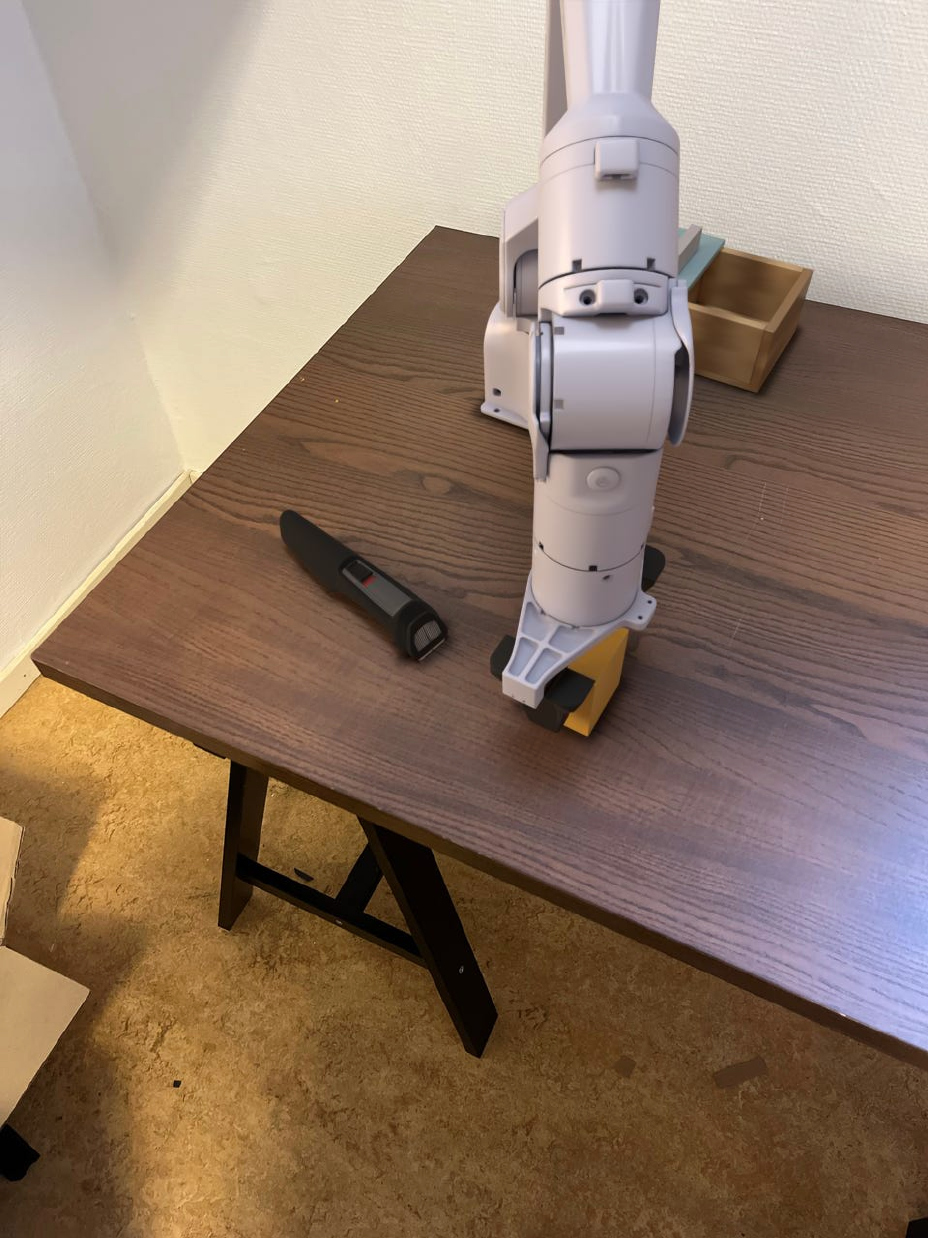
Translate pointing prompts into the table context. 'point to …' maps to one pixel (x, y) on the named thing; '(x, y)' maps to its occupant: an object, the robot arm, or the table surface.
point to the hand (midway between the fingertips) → (573, 676)
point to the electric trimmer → (365, 586)
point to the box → (744, 316)
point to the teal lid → (696, 253)
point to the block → (598, 679)
